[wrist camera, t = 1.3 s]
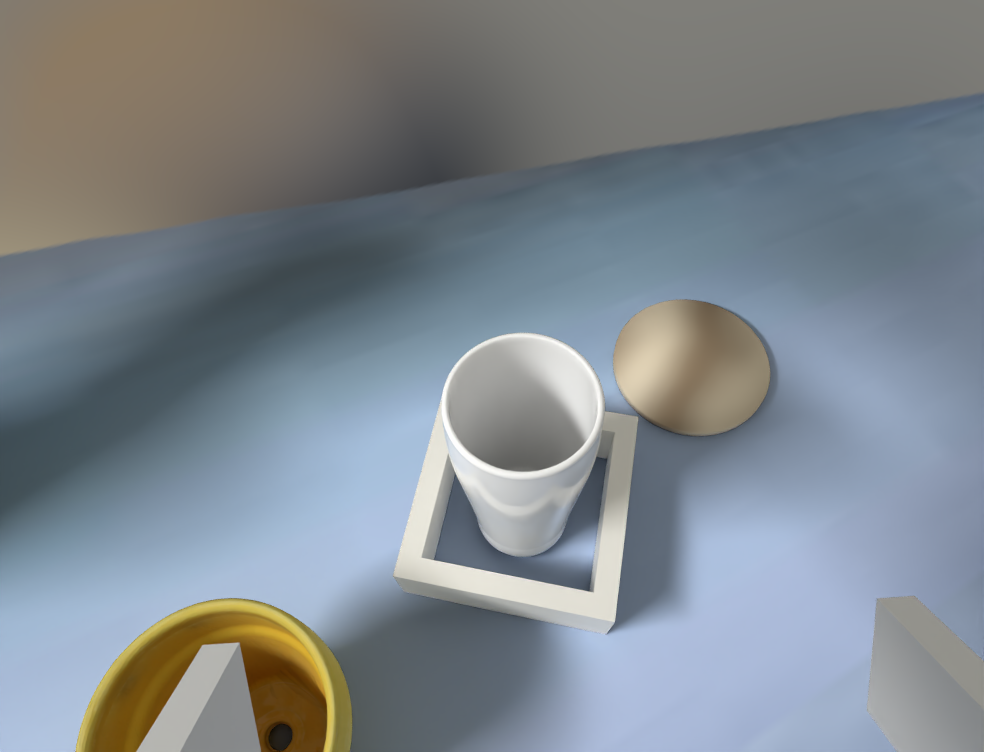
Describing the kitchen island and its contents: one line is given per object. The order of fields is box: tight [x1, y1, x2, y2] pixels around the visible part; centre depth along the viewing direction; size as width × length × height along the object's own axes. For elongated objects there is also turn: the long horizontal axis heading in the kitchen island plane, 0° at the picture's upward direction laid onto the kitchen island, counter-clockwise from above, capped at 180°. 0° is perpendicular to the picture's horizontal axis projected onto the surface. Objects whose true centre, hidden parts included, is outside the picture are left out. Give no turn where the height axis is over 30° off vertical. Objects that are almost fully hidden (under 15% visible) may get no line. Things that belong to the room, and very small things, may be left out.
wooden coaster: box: [613, 300, 770, 436], centre depth 44 cm, size 10×10×1 cm
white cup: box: [441, 333, 605, 557], centre depth 34 cm, size 7×7×15 cm
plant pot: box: [75, 598, 352, 752], centre depth 31 cm, size 10×10×10 cm
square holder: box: [393, 398, 638, 634], centre depth 38 cm, size 11×11×4 cm
